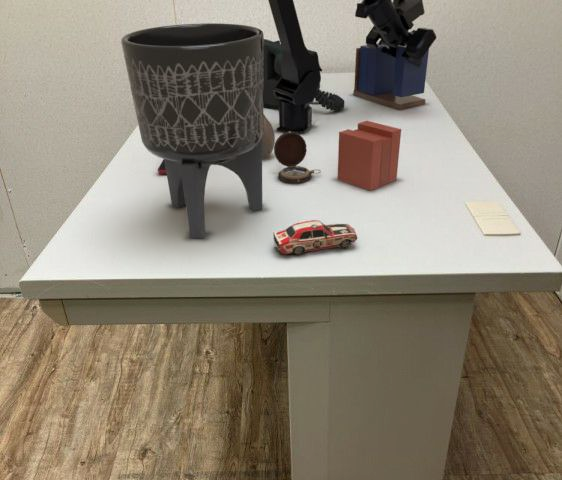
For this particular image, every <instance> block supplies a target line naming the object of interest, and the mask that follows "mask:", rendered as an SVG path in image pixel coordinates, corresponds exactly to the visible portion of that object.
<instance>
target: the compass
mask: <svg viewBox="0 0 562 480" xmlns="http://www.w3.org/2000/svg"><path fill="white" fill-rule="evenodd" d="M307 151H308V150H307V143H306V140H305V139H304V137H303V136H302V135H300V133H295V132H291V131H289V132H283V133H282V134H281V135H279V136H278V138H277V139H275V144H274V148H273V153H274V157H275V159H276V160H277V162H279V164H281V165H282V166H284V168H282V169H281V170H280V171H279V172H278V179H279V180H280V181H282V182H284V183H289V184H299V183H304V182H305V183H306V182H307V181H309V180H310V179H311V178H312V174H315V171H318V172H317V174H320V173H322V171H321V169H316V168H315V169H312V170H309V169H308V168H307V167H305V166H300V165H299V164H301V163H302V162H303V160H304V159H305V158H306V155H307Z"/></svg>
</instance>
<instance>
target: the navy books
mask: <svg viewBox="0 0 562 480" xmlns="http://www.w3.org/2000/svg"><path fill="white" fill-rule="evenodd" d="M378 43H379V42H377V43H376V44H377V45H378V48H377V50H374V49H370V48H369V47H368V46H367V44H365V45H360V47H359V48H360V65H359V84H358V91H360V92H363V93H366V94H370V95H373V96H375V95H380V94H385V93H390V92H393V84H394V73H395V61H396V58H394V57H392V56H389V55H387V54H385V53H382V52H381V49H382V46H381V45H379V44H378Z"/></svg>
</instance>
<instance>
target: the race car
mask: <svg viewBox="0 0 562 480" xmlns="http://www.w3.org/2000/svg"><path fill="white" fill-rule="evenodd" d="M272 239H273V242H274V243H275V245H276V247H277V250H278V251H279V252H280V253H281V254H283V255H287V254H288V255H289V254H293V255H296V256H299V255H303V254H304V253H305V252H312V251H319V250H327V249H333V248H338V247H340V249H342V250H347V248H349V247H350V245H351V243H354V242H356V241H357V240H358V235H357V232H356V229H355V228H354V227H352V226H351V225H350V224H349V223H329V224H324V223H323V222H322V221H321V220H316V219H313V220H307V221H306V220H305V221H301V222H297V223H294V224H292V225H290V226H288V227H287V228H286V229H283V230H281V231H277V232H273V237H272Z"/></svg>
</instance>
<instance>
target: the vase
mask: <svg viewBox="0 0 562 480" xmlns="http://www.w3.org/2000/svg"><path fill="white" fill-rule="evenodd" d="M275 134H276V133H275V131H274V127H273V125H272V123H271V122H270V121H269V119H268V118H267V117H266V115H265V114H263V137H262V160H265V159H267V158H268V157H270V156H271V154H272V152H274V146H275V142H276V135H275Z"/></svg>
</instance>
